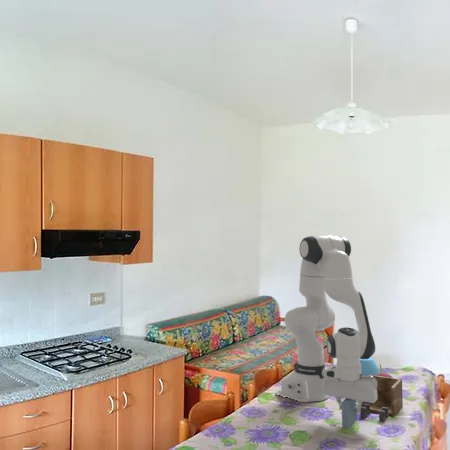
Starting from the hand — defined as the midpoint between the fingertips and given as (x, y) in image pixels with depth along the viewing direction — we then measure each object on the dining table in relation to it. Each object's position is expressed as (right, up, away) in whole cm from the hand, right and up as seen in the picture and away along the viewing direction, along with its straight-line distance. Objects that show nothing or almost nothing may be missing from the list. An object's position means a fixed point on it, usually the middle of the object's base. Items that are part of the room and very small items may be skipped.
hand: (349, 410), depth 178 cm
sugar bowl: (+22, -6, +57) cm, 62 cm away
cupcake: (+26, -6, +39) cm, 47 cm away
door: (0, -5, 0) cm, 5 cm away
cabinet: (+15, -5, +12) cm, 20 cm away
